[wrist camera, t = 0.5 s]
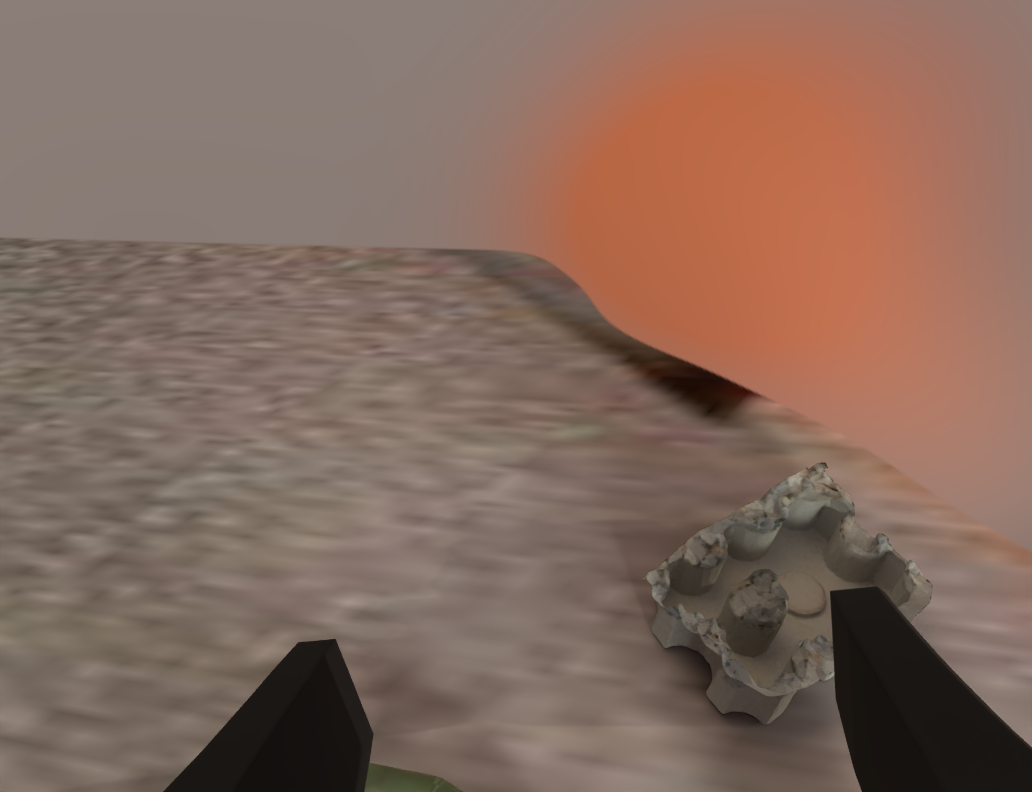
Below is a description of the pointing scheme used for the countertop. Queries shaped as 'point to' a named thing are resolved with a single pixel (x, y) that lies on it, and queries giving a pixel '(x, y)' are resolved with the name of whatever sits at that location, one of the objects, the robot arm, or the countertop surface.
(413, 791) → the ring
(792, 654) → the egg carton
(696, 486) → the countertop surface
